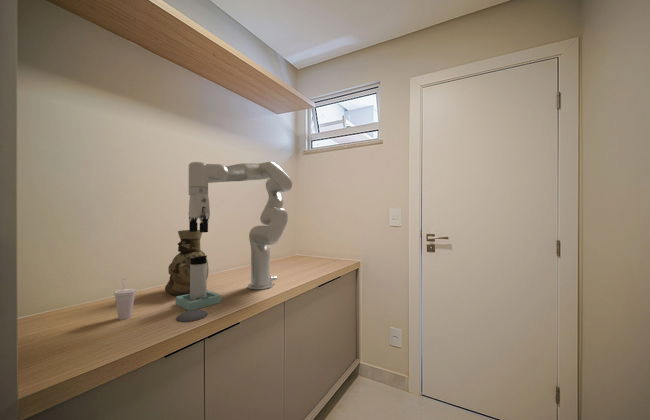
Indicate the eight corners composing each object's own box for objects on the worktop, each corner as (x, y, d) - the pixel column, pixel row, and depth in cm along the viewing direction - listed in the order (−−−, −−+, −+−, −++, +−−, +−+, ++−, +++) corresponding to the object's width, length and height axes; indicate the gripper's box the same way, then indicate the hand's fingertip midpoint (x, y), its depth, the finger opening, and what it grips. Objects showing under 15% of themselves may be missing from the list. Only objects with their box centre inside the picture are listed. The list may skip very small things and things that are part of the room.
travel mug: (200, 306, 105) (200, 256, 105) (186, 305, 106) (186, 256, 107) (210, 301, 111) (210, 254, 112) (196, 300, 112) (197, 254, 113)
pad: (200, 309, 101) (200, 307, 101) (212, 315, 95) (212, 313, 95) (172, 317, 93) (172, 315, 94) (183, 324, 87) (183, 322, 87)
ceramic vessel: (159, 300, 113) (160, 231, 114) (168, 288, 132) (169, 229, 133) (207, 295, 120) (207, 230, 121) (209, 284, 140) (209, 228, 140)
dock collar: (206, 296, 118) (206, 287, 118) (221, 302, 109) (221, 292, 110) (175, 304, 108) (175, 294, 108) (189, 311, 99) (189, 300, 100)
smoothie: (117, 315, 95) (117, 277, 95) (138, 313, 98) (138, 276, 98) (110, 322, 89) (111, 281, 90) (133, 319, 92) (133, 279, 92)
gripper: (217, 190, 107) (217, 232, 107) (198, 193, 118) (198, 230, 118) (198, 189, 101) (198, 233, 101) (180, 192, 112) (180, 231, 112)
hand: (198, 231), depth 109 cm, fingers open, 9 cm apart
